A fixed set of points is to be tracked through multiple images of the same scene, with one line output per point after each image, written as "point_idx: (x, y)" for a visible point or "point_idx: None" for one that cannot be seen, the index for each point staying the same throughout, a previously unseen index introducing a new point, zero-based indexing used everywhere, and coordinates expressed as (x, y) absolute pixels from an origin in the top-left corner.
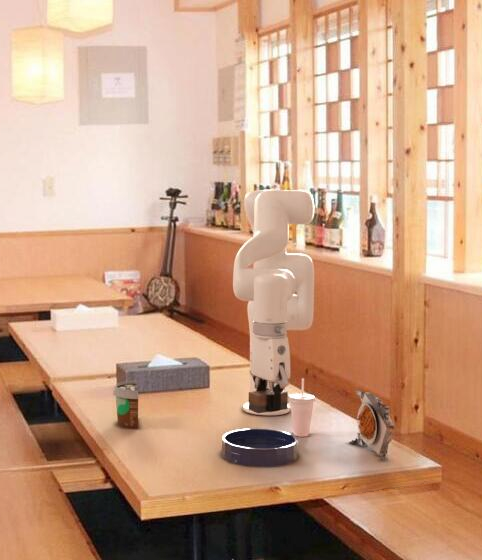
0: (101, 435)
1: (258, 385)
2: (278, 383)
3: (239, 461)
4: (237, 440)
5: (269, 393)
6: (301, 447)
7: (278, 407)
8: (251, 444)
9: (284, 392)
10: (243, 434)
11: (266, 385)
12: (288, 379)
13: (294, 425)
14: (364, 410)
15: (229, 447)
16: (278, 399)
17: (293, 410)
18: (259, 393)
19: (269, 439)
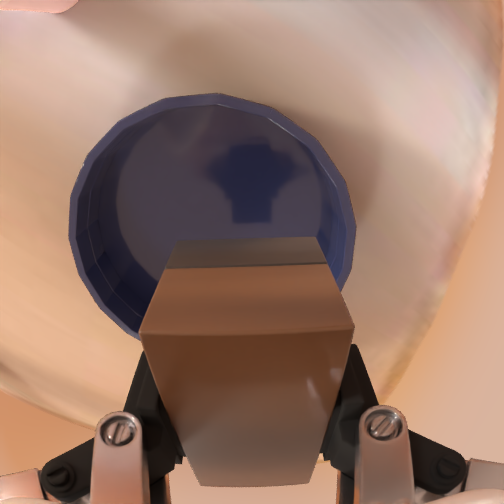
0: (19, 397)
1: (168, 485)
2: (378, 498)
3: None
4: (98, 253)
5: (298, 447)
6: (186, 40)
7: (353, 346)
8: (112, 205)
9: (346, 359)
10: (85, 238)
11: (145, 443)
12: (495, 491)
13: (45, 8)
14: None
15: None
16: (368, 391)
17: (9, 4)
18: (261, 474)
19: (118, 146)
